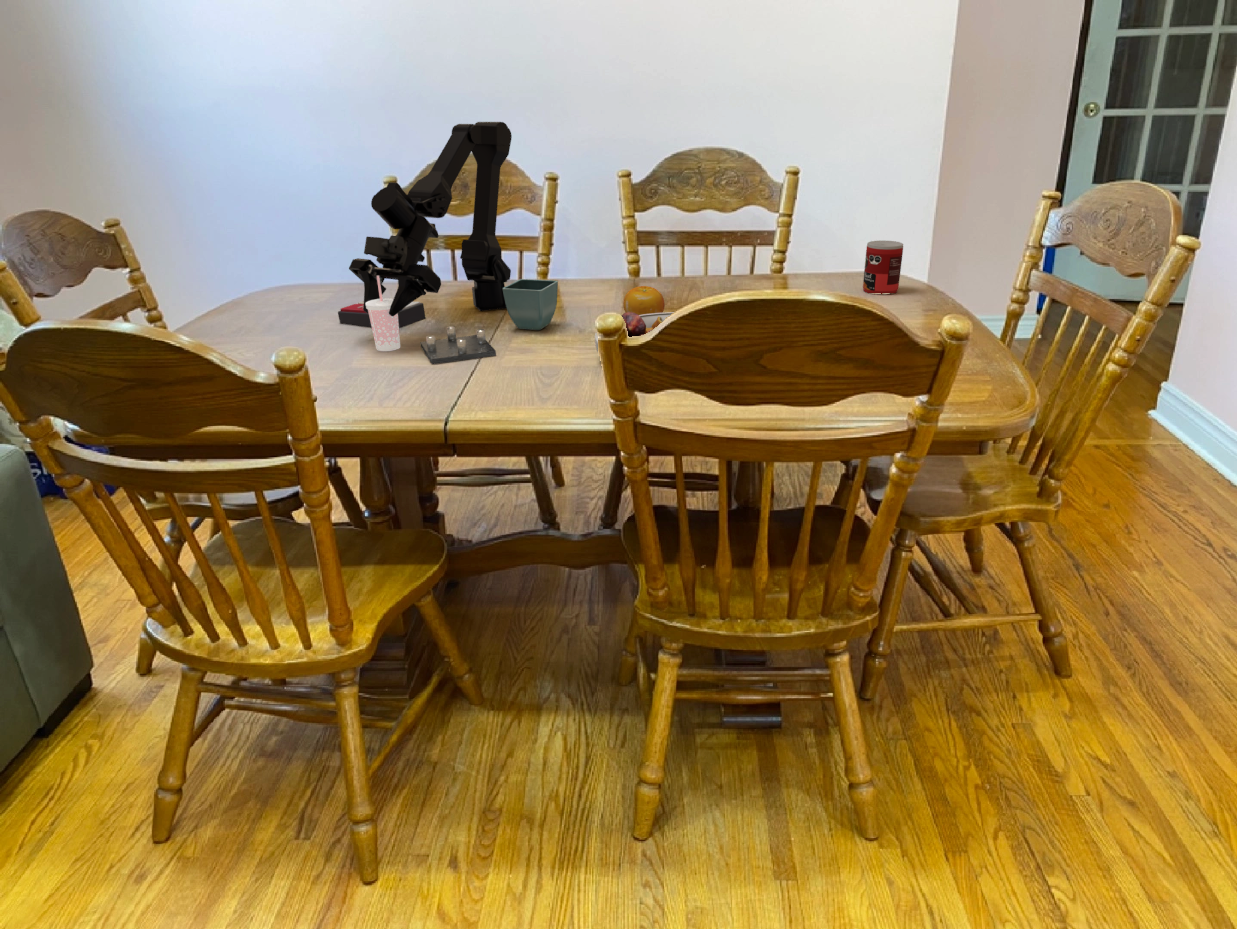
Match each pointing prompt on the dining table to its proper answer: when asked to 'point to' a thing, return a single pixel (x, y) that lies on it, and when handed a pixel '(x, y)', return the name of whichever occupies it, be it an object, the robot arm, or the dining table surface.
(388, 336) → the beverage cup
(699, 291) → the dining table surface
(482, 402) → the dining table surface
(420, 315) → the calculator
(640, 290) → the fruit
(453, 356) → the chassis plate
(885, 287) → the canned food
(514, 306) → the flower pot
